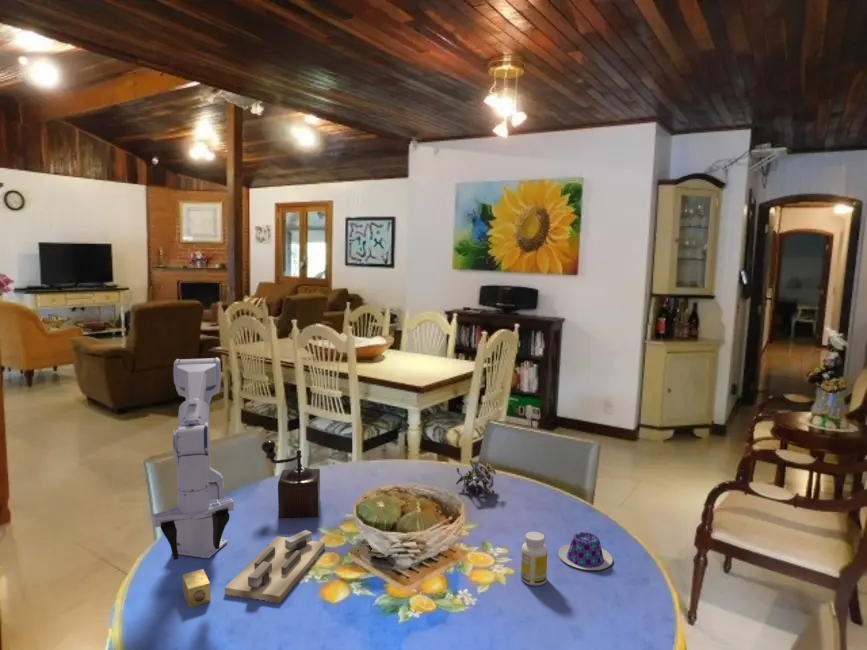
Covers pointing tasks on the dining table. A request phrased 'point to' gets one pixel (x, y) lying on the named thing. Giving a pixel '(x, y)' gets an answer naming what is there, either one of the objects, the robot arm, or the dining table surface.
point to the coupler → (196, 588)
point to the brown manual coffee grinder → (296, 487)
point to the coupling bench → (276, 568)
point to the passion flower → (479, 476)
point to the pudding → (585, 552)
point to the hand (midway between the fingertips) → (196, 551)
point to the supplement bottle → (534, 559)
